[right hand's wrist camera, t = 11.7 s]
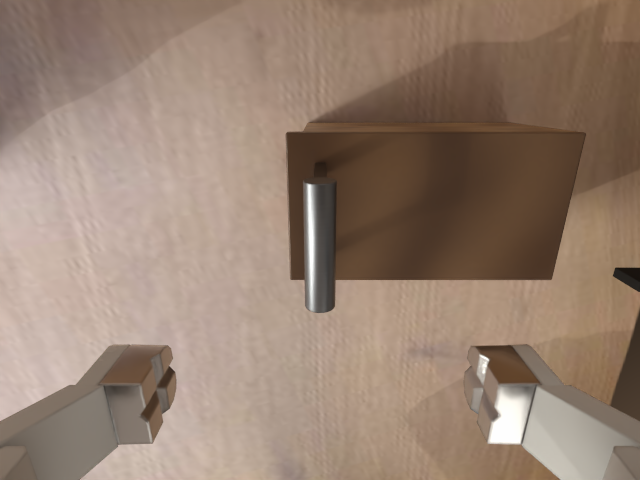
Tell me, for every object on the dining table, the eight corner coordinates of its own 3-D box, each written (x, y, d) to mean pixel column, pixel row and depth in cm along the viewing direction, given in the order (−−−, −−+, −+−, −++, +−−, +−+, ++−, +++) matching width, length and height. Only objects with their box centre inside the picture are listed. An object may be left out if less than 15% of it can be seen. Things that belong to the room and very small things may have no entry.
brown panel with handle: (290, 274, 27) (279, 340, 20) (286, 131, 23) (271, 147, 16) (544, 274, 27) (628, 340, 19) (577, 131, 23) (692, 146, 16)
